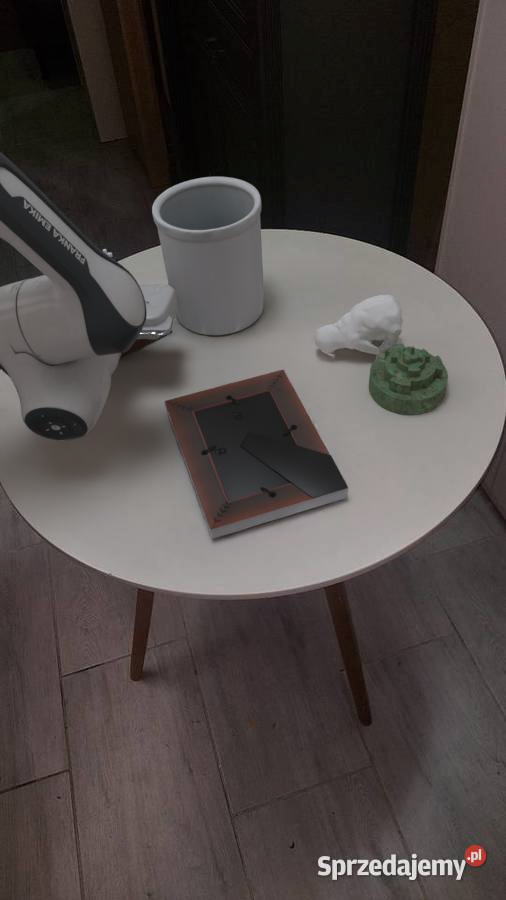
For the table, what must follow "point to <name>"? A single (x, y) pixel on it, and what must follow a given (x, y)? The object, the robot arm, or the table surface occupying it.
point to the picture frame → (253, 453)
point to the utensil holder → (213, 252)
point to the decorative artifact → (407, 380)
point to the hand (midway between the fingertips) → (112, 274)
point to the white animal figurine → (363, 327)
